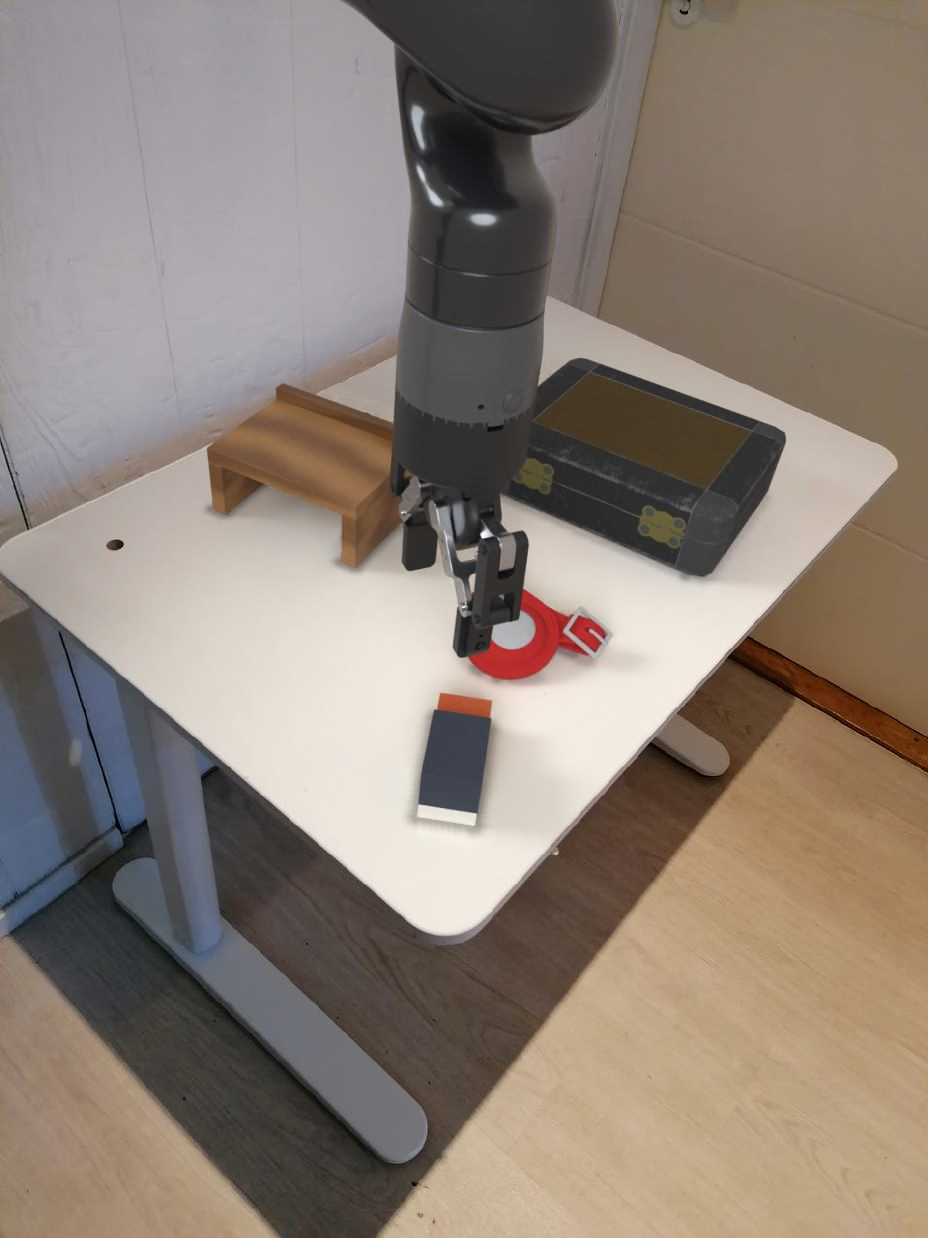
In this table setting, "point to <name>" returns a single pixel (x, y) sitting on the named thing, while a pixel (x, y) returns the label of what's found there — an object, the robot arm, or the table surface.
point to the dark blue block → (455, 760)
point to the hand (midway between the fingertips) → (443, 607)
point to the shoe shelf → (313, 464)
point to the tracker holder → (539, 640)
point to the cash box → (645, 464)
